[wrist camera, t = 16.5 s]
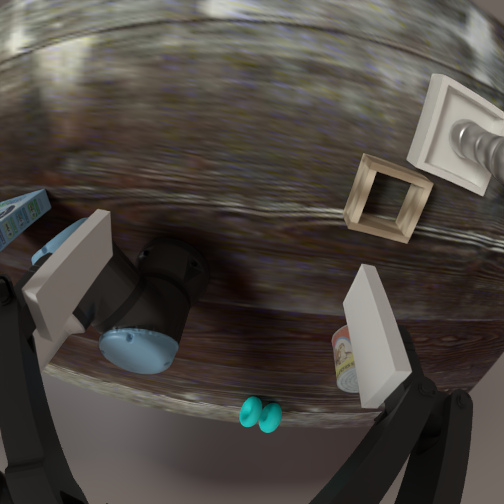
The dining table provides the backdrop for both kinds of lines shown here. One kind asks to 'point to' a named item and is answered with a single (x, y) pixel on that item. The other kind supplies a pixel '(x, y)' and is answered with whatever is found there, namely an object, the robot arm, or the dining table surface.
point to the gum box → (21, 214)
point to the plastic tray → (438, 127)
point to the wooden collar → (409, 209)
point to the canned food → (344, 361)
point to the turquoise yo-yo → (260, 414)
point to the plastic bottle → (478, 146)
